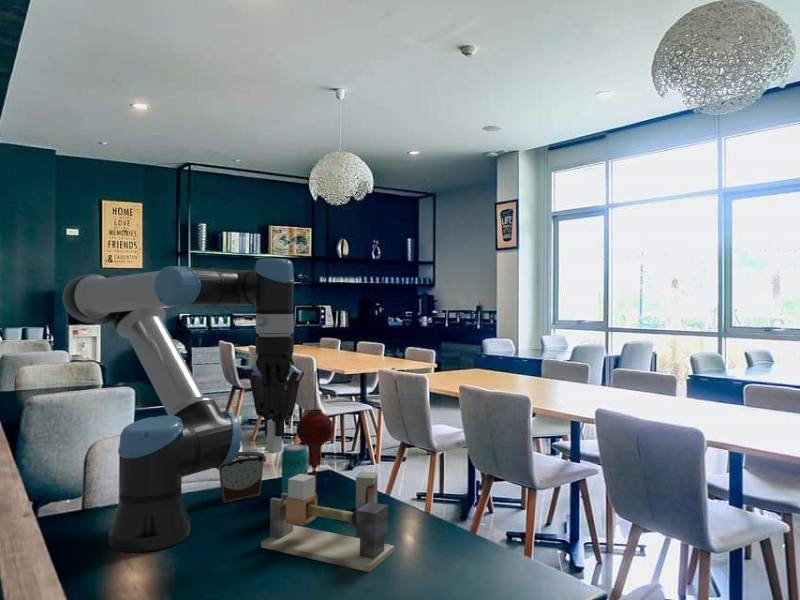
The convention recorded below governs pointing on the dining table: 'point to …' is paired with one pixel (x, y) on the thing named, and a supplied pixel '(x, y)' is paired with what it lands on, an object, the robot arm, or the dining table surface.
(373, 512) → the cord rig
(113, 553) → the dining table surface
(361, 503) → the small box
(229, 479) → the food container
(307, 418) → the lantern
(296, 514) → the two-tone block
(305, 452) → the beverage can
